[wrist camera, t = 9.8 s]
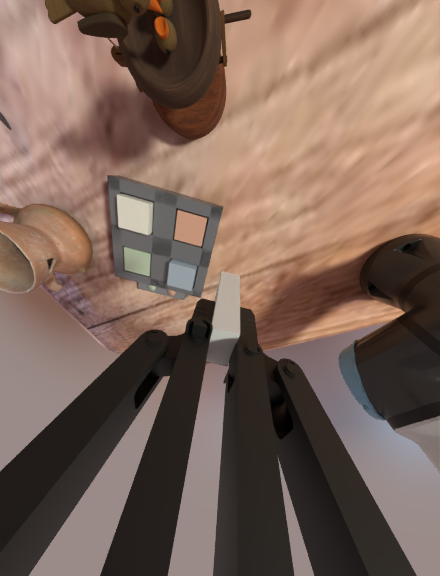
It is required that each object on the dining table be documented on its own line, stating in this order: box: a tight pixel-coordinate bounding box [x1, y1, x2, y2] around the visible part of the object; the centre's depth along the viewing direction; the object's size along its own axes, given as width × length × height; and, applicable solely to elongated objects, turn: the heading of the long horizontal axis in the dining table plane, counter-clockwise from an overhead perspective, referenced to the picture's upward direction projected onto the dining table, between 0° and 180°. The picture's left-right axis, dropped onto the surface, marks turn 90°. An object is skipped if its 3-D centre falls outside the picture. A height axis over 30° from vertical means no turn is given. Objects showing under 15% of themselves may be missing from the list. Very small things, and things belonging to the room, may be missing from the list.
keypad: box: [107, 175, 223, 298], centre depth 37 cm, size 20×20×4 cm
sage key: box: [124, 246, 152, 276], centre depth 39 cm, size 6×6×2 cm
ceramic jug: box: [0, 204, 92, 294], centre depth 33 cm, size 18×14×14 cm
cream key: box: [117, 194, 154, 235], centre depth 32 cm, size 6×6×2 cm
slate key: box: [167, 259, 198, 291], centre depth 38 cm, size 6×6×2 cm
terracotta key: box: [174, 209, 208, 246], centre depth 34 cm, size 6×6×2 cm
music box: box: [45, 0, 251, 139], centre depth 18 cm, size 15×11×20 cm
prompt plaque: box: [138, 282, 186, 300], centre depth 45 cm, size 12×3×1 cm, turn 75°
